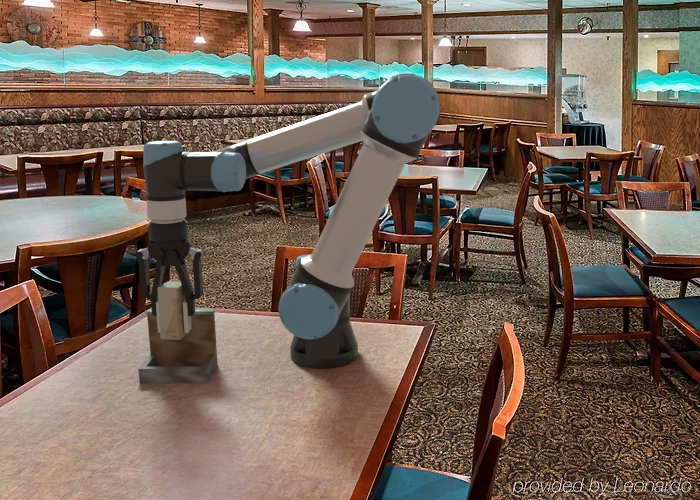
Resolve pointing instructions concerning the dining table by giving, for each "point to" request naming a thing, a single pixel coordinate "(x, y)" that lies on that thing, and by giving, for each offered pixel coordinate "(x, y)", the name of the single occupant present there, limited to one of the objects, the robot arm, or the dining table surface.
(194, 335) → the cleat board
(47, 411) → the dining table surface
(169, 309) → the box
